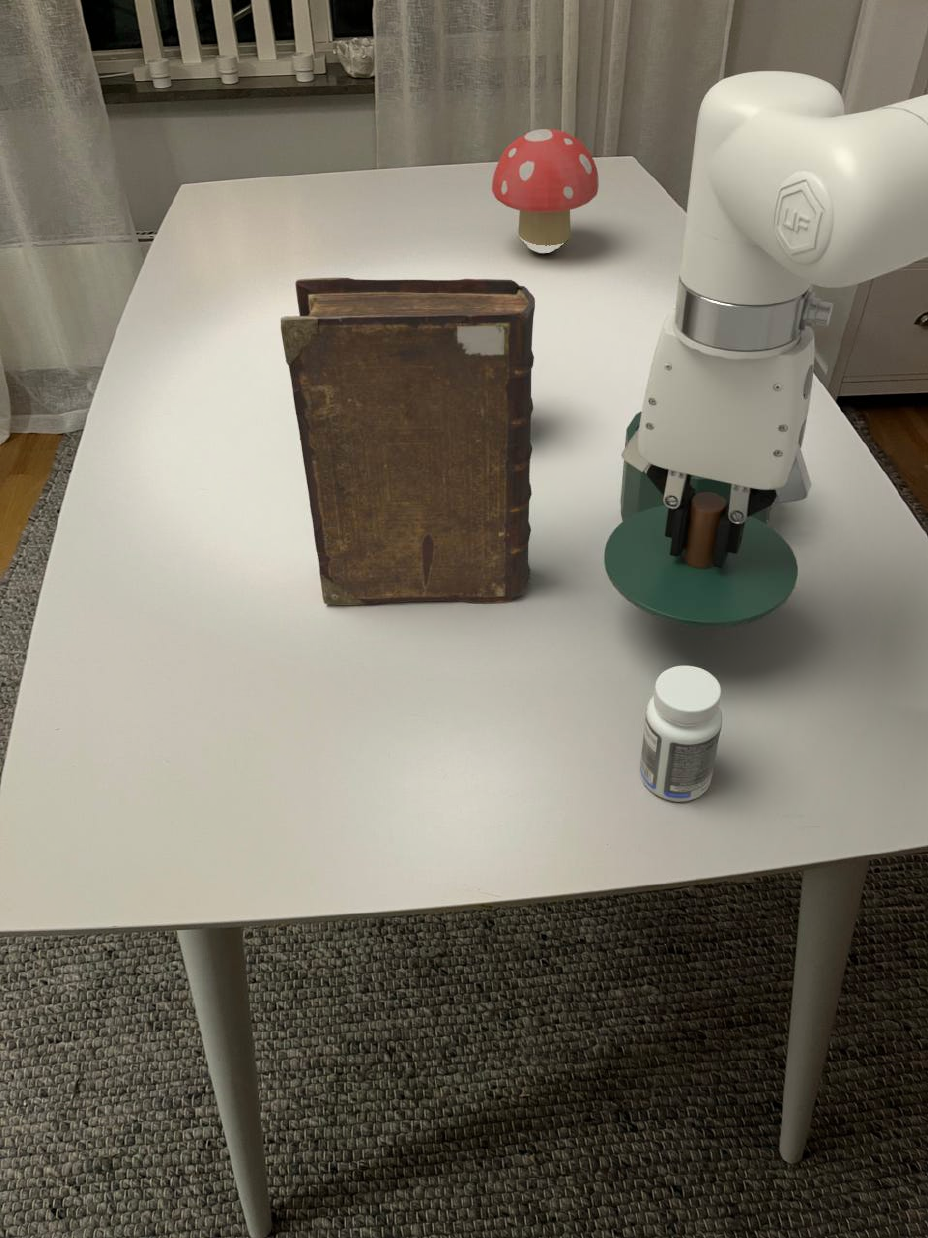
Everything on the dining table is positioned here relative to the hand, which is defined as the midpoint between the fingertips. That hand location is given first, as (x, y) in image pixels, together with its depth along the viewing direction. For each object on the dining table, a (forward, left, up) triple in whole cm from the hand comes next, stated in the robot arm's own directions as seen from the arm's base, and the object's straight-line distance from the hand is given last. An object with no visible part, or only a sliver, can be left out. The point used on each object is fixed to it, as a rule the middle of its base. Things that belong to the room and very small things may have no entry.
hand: (701, 549), depth 73 cm
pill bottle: (-3, +14, -8) cm, 17 cm away
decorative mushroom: (+38, -64, -8) cm, 75 cm away
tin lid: (0, 0, -1) cm, 1 cm away
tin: (+4, -15, -8) cm, 17 cm away
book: (+21, +3, -8) cm, 23 cm away
